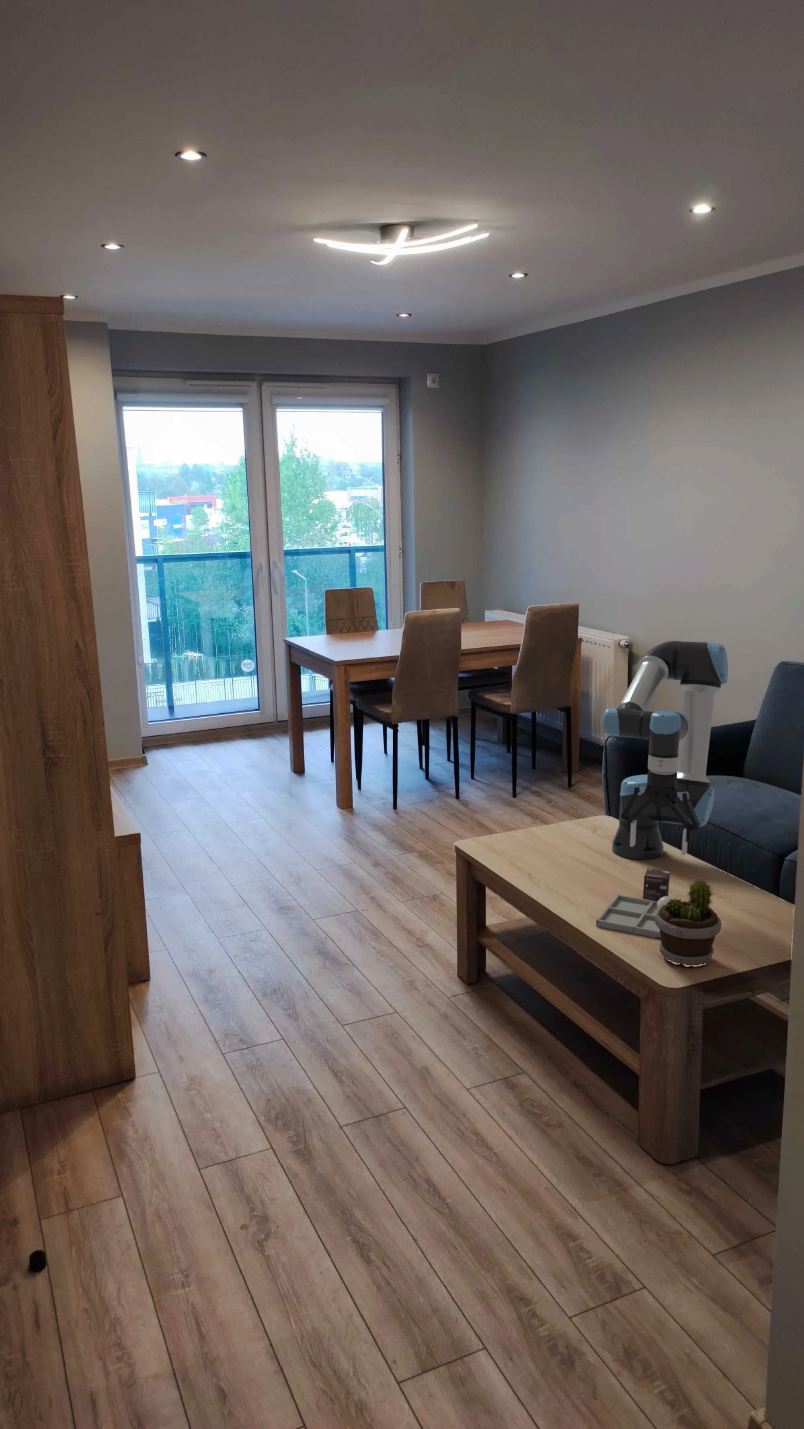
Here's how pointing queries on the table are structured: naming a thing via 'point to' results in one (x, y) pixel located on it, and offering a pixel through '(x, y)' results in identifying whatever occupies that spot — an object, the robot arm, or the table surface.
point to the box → (656, 884)
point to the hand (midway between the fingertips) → (658, 849)
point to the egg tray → (630, 916)
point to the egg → (663, 901)
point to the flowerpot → (689, 926)
